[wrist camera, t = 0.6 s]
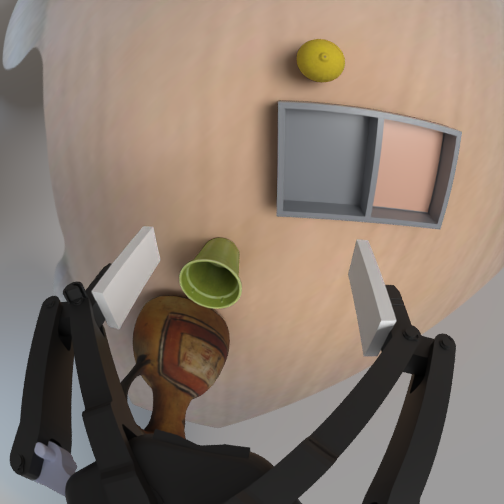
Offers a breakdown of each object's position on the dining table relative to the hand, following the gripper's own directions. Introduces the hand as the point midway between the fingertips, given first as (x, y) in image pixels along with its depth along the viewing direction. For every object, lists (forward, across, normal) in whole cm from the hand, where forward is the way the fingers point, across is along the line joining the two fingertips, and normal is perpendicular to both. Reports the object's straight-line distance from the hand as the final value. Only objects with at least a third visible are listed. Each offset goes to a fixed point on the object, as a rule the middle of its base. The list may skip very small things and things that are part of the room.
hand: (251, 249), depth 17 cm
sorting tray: (+23, +13, +1) cm, 27 cm away
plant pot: (+23, -8, -17) cm, 30 cm away
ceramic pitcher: (+23, -17, -35) cm, 45 cm away
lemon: (+24, +6, +14) cm, 28 cm away
